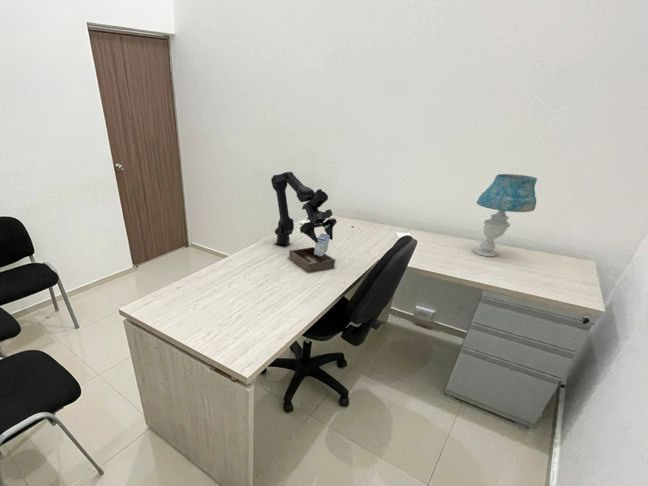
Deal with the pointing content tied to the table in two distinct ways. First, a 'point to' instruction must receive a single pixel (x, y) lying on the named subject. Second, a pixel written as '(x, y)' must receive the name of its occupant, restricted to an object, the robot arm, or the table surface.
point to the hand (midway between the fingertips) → (324, 241)
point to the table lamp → (505, 205)
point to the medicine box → (321, 244)
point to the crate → (303, 262)
